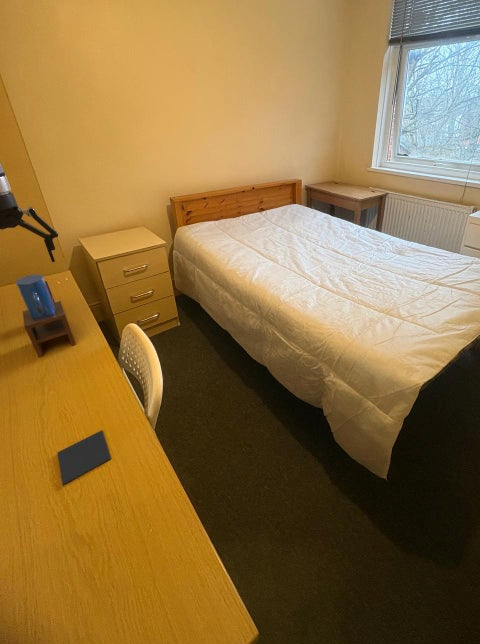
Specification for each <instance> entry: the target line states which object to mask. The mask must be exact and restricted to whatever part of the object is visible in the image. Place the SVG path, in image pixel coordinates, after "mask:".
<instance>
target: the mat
mask: <svg viewBox="0 0 480 644" xmlns="http://www.w3.org/2000/svg"><path fill="white" fill-rule="evenodd" d="M57 458H58V464H59V470H60V476H61V477H60V478H61V484H62V486H65V485H67V484H69V483H72V482H73V481H74V480H76V479H78V478H80V477H82V476H84V475H85V474H87V473H89V472H91V471H93V470H94V469H96V468H99V467H100V466H101V465H103V464H105V463H107V462H109V461H111V460H112V458H111V454H110V451H109V447H108V444H107V440H106V438H105V434H104V430H99V431H97V432H95V433H93V434H91V435H89V436H87V437H85V438H83V439H81V440H79V441H77V442H75V443H73V444H71V445H69V446H67V447H65V448H63V449H61V450H59V451H57Z"/></svg>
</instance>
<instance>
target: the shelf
mask: <svg viewBox="0 0 480 644" xmlns="http://www.w3.org/2000/svg"><path fill="white" fill-rule="evenodd" d="M54 306H55V308H56V311H55V312H54V313H53V314H51V315H50V316H47V317H44V318H40V319H34V318H31V316H30V314H29V312H28V309H26V310H23V311H22V318H23V319H22V320H23V326H24V330H25V331H26V333H27V335H28V338H29V340H30V342H31V344H32V347H33V348H34V351H35V353H36V355H37V357H38V358H41V357H44V351H43V345H42V343H43V342H47V341H49V340H52V339H55V338H58V337H62V336H65V335H67V336H68V339H69V342H70V345H71V346H72V347H73V346H77V342H76V339H75V336H74V333H73V330H72V327H71V324H70V321H69V319H68V316H67V313H66V311H65V309H64V306H63V303H62V301H61V300H59V301H55V303H54Z"/></svg>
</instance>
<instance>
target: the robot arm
mask: <svg viewBox="0 0 480 644" xmlns="http://www.w3.org/2000/svg"><path fill="white" fill-rule="evenodd" d="M11 190H12V187H11V185H10V182H9V180H8V177H7V175H6V174H5V171H4V169H3V166H2V163H1V162H0V230H1V231H2V230H6V229H14V228H15V229H16V227H18V226H19V227H21V228H23V229H25V230H28V231H29V232H31V233H33V234H35V235H36V236H38V237H40V238H42V239H43V242H44V245H45V247H46V250H47V252H48V255H49V258H50V261H51V263H55V262H56V260H55V257H54V255H53V254H54V253H53V252H52V251H55V250H56V247H55V246H56V245H55V244H54V239H55V238H58V237H59V233H58V232H57V230H55V228H53V227H52V226H51V225H50V224H49V223H47V221H45V219H43V218H42V217H41V216H39V214H37V212H36V210H35V207H33V206H28V208H24V209H21V208H20V207H19V205H18V203H17V200H16V197H15V195H14V193H13V192H11ZM24 215H26V216H27V217H31V218H32V219H33V220H34V221H36V222H37V223H38V224H39V225H40V226H41V227H42V228H44V230H46V231H47V232H45V231H43V230H42V229H40V228H38V227H37V226H34V224H31V223H30V222H28V221H26V220H24V219H22V218H23V216H24Z"/></svg>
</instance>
